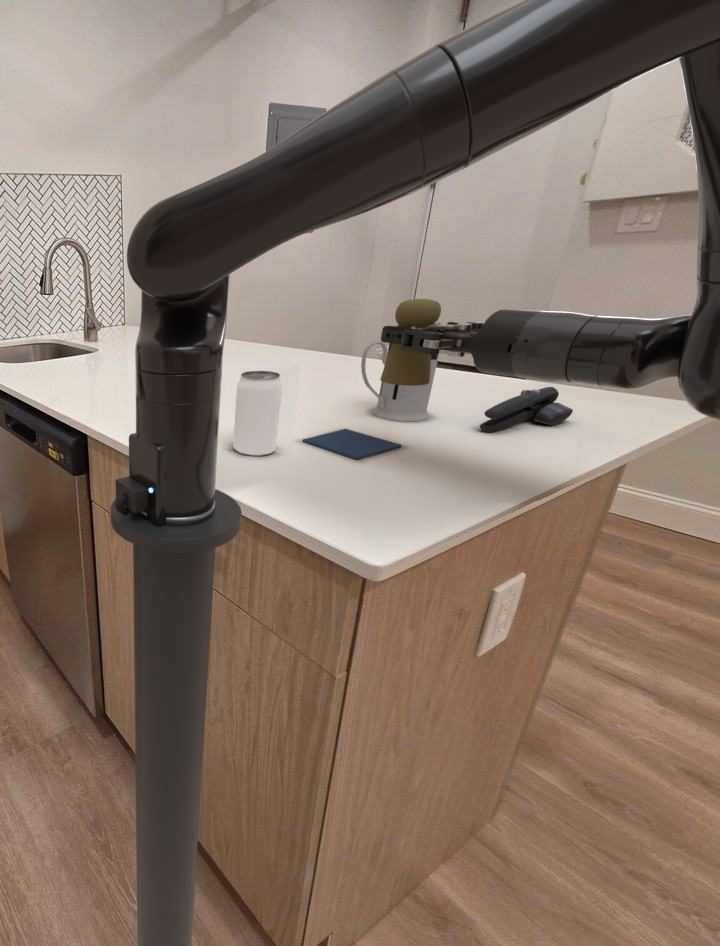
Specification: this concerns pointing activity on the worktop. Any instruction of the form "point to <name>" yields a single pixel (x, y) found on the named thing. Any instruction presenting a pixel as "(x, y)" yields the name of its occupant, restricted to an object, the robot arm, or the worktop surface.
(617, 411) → the worktop surface
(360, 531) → the worktop surface
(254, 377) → the can
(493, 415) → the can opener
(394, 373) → the cork
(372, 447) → the mat
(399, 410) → the glass holder
